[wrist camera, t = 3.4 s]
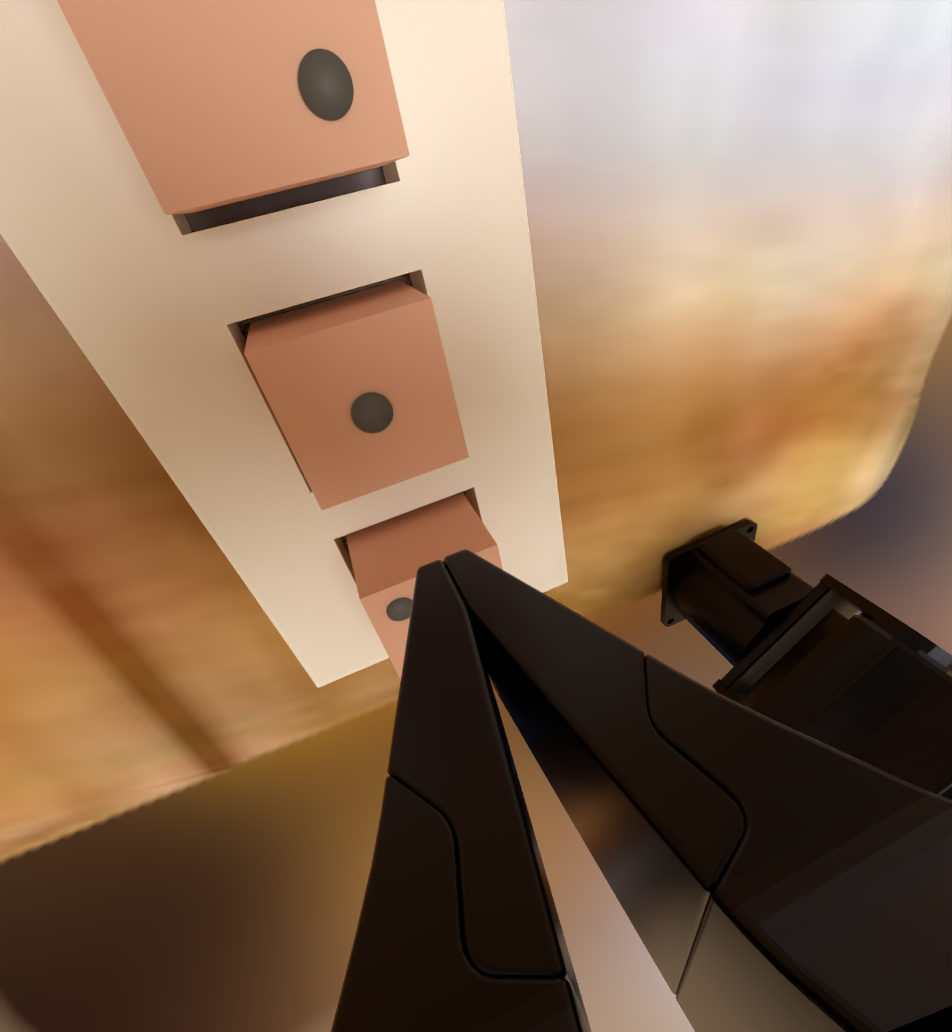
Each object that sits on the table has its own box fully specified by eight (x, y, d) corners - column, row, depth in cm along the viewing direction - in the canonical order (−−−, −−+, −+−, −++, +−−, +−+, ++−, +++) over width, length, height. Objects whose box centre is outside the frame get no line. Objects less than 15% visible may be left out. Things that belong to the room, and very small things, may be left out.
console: (549, 558, 25) (568, 581, 24) (314, 655, 23) (318, 687, 22) (437, -251, 11) (466, -331, 9) (-239, -187, 8) (-358, -277, 7)
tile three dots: (483, 575, 23) (518, 636, 19) (384, 615, 22) (403, 686, 19) (461, 490, 20) (498, 546, 16) (345, 533, 19) (360, 601, 16)
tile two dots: (376, 167, 13) (410, 155, 10) (193, 212, 12) (164, 215, 9) (302, -118, 10) (315, -271, 7) (52, -83, 9) (-66, -238, 6)
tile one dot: (436, 415, 19) (469, 458, 15) (313, 457, 18) (322, 512, 15) (399, 279, 16) (432, 298, 13) (250, 322, 15) (244, 354, 12)
